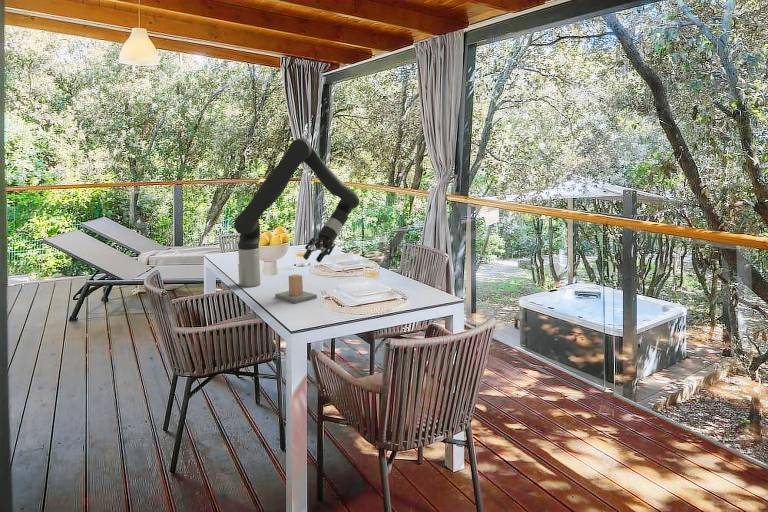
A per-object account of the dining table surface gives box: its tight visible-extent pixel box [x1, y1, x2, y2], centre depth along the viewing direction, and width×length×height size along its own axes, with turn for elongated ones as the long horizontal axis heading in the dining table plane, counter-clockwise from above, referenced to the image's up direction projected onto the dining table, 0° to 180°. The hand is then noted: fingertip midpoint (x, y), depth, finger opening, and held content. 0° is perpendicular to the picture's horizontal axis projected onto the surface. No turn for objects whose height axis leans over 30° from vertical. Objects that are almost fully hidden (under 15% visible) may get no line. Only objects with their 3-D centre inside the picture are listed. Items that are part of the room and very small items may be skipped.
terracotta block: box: [288, 274, 304, 296], centre depth 229 cm, size 4×4×8 cm
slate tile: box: [274, 290, 318, 304], centre depth 229 cm, size 14×11×2 cm
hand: (311, 259), depth 233 cm, fingers open, 8 cm apart
